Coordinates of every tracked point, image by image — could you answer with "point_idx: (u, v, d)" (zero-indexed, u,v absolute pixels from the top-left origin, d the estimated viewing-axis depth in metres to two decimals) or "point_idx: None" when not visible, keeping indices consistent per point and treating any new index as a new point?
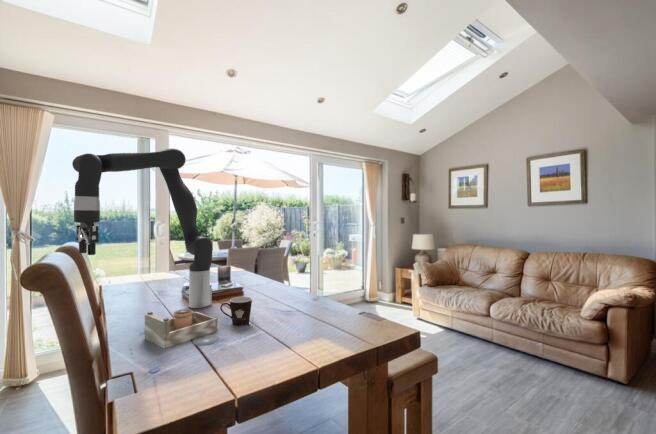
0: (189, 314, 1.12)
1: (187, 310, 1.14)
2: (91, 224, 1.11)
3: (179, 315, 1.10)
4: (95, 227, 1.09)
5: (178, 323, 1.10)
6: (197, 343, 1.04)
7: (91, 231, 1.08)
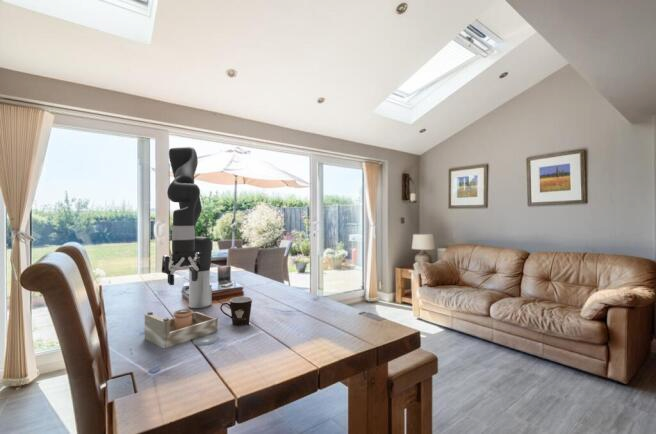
0: (189, 314, 1.12)
1: (187, 310, 1.14)
2: None
3: (179, 315, 1.10)
4: None
5: (178, 323, 1.10)
6: (197, 343, 1.04)
7: None
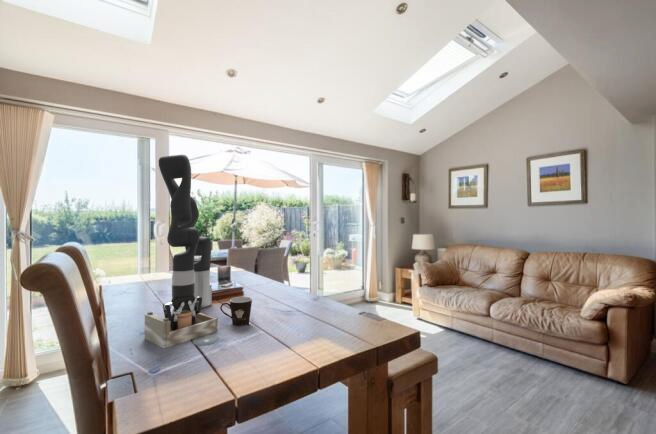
0: (189, 314, 1.12)
1: (187, 310, 1.14)
2: None
3: (179, 315, 1.10)
4: None
5: (178, 323, 1.10)
6: (197, 343, 1.04)
7: None
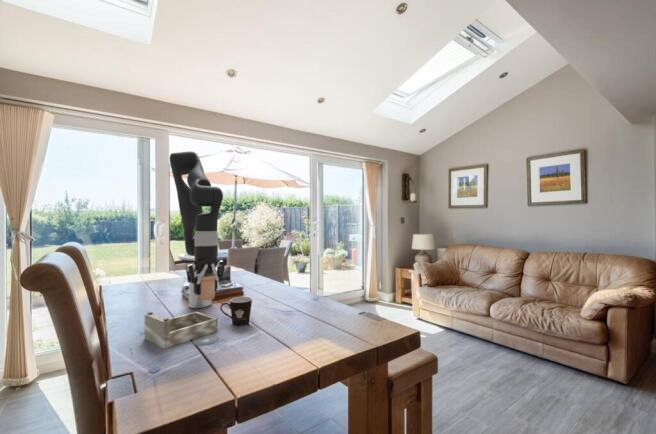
0: (213, 277, 1.06)
1: (210, 274, 1.08)
2: None
3: (202, 277, 1.04)
4: None
5: (201, 286, 1.04)
6: (197, 343, 1.04)
7: None
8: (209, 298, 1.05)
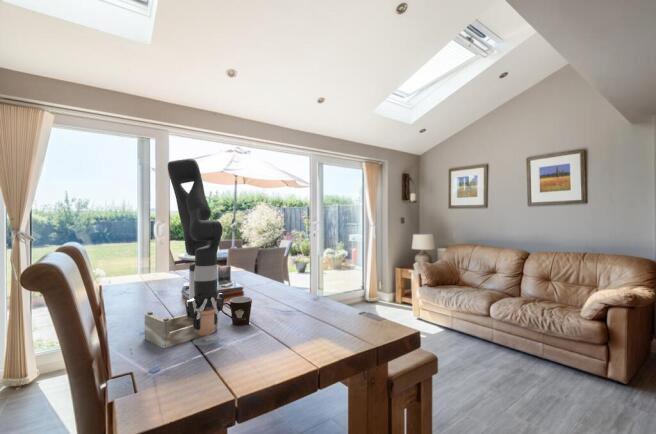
0: (212, 311, 1.06)
1: (210, 307, 1.08)
2: None
3: (202, 312, 1.04)
4: None
5: (201, 321, 1.04)
6: (197, 343, 1.04)
7: None
8: (209, 332, 1.05)
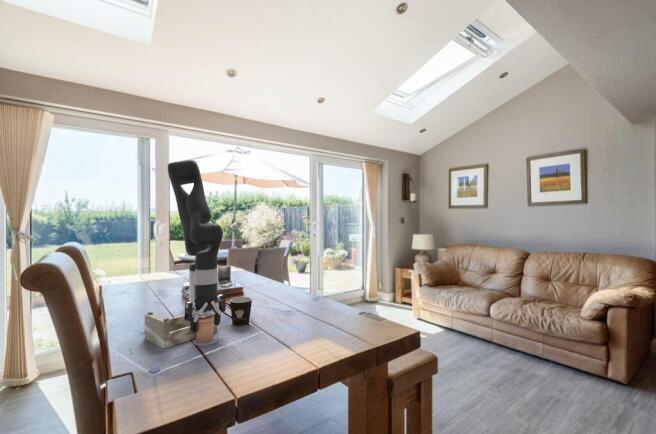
0: (211, 319, 1.06)
1: (209, 315, 1.08)
2: None
3: (201, 320, 1.04)
4: None
5: (200, 329, 1.04)
6: (197, 343, 1.04)
7: None
8: (208, 341, 1.05)
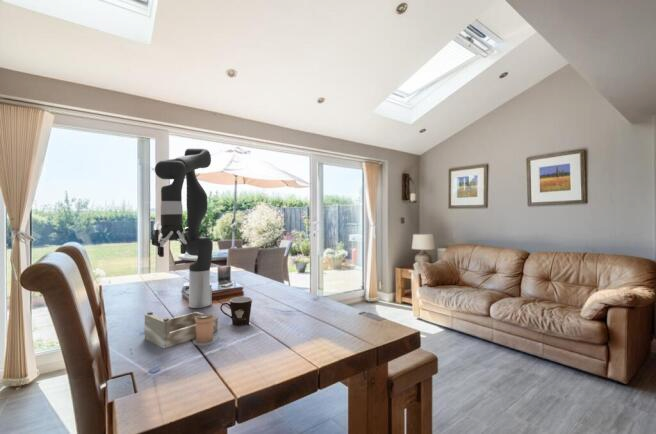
0: (211, 319, 1.06)
1: (209, 315, 1.08)
2: None
3: (201, 320, 1.04)
4: None
5: (200, 329, 1.04)
6: (197, 343, 1.04)
7: None
8: (208, 341, 1.05)
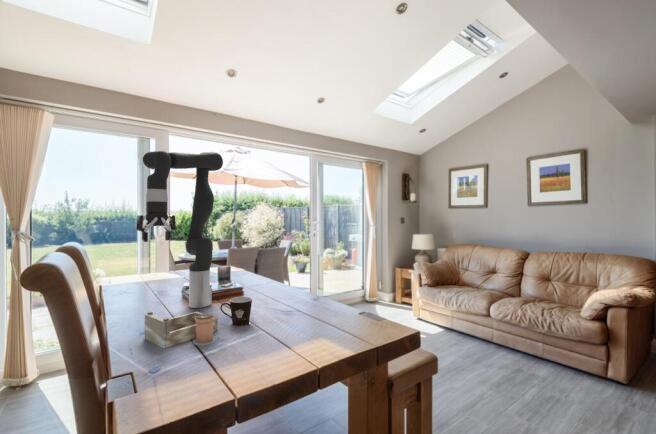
0: (211, 319, 1.06)
1: (209, 315, 1.08)
2: None
3: (201, 320, 1.04)
4: None
5: (200, 329, 1.04)
6: (197, 343, 1.04)
7: None
8: (208, 341, 1.05)
